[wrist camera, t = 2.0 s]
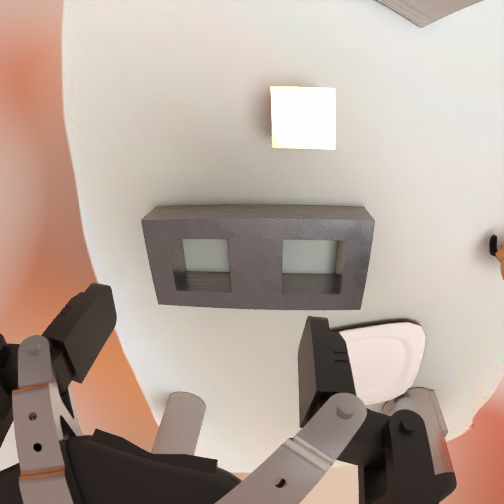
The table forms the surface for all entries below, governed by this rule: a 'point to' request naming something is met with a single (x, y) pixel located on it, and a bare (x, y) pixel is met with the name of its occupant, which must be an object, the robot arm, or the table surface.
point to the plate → (384, 359)
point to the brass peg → (303, 117)
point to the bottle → (180, 425)
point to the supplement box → (427, 9)
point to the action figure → (497, 252)
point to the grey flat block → (259, 256)
